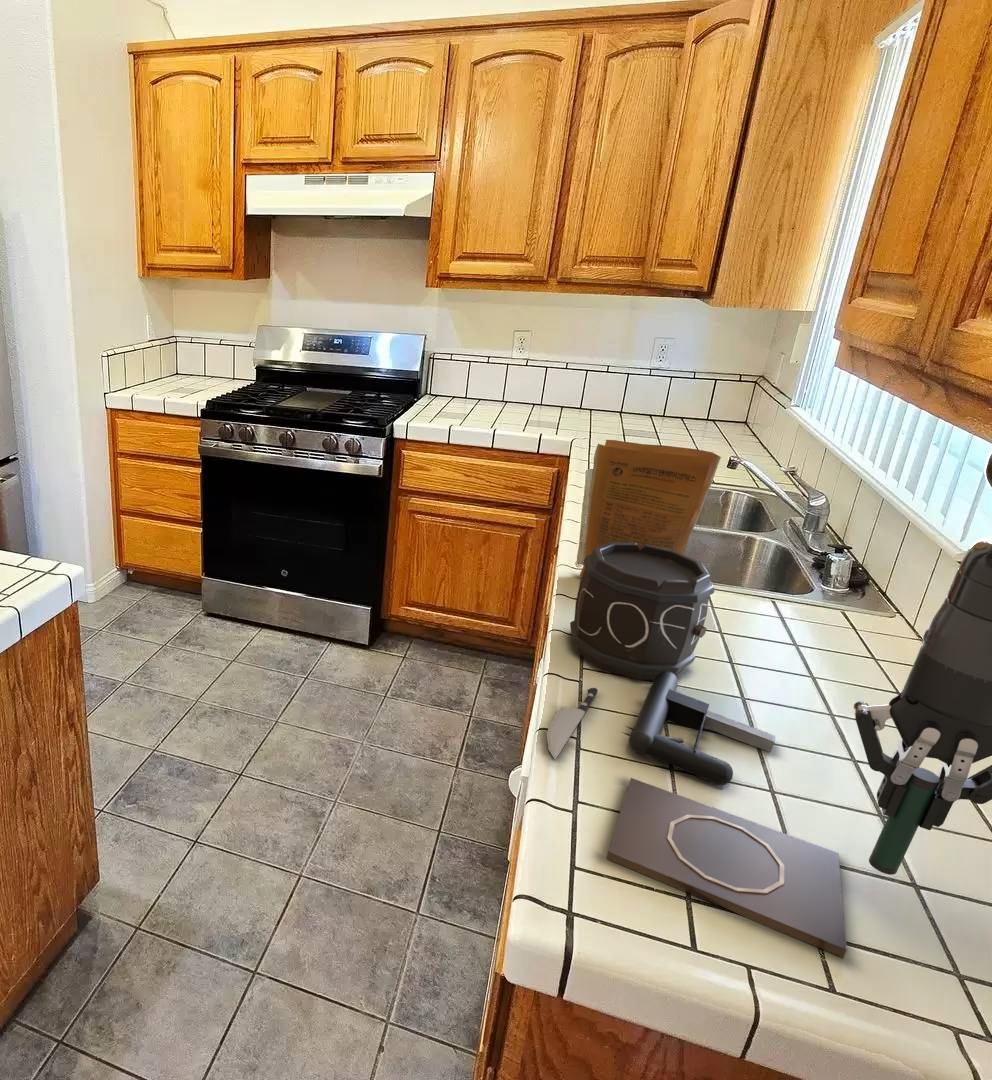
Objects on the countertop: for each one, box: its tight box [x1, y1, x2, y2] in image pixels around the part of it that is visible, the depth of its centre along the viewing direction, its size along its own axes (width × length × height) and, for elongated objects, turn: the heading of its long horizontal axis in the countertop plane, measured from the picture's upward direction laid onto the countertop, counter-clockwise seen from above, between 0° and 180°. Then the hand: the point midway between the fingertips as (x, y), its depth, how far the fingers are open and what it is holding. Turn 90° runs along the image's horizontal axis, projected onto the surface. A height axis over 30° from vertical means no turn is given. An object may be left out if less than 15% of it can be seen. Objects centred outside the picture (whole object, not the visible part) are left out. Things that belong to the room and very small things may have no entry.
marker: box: [868, 766, 940, 876], centre depth 71 cm, size 2×2×11 cm
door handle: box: [621, 671, 776, 786], centre depth 97 cm, size 3×20×16 cm
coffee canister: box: [569, 542, 715, 681], centre depth 114 cm, size 18×18×16 cm
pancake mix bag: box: [579, 439, 722, 578], centre depth 134 cm, size 7×19×28 cm, turn 57°
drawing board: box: [605, 777, 848, 958], centre depth 77 cm, size 20×14×1 cm
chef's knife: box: [546, 687, 599, 760], centre depth 99 cm, size 19×1×3 cm
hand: (905, 817), depth 71 cm, fingers closed on marker, 2 cm apart
